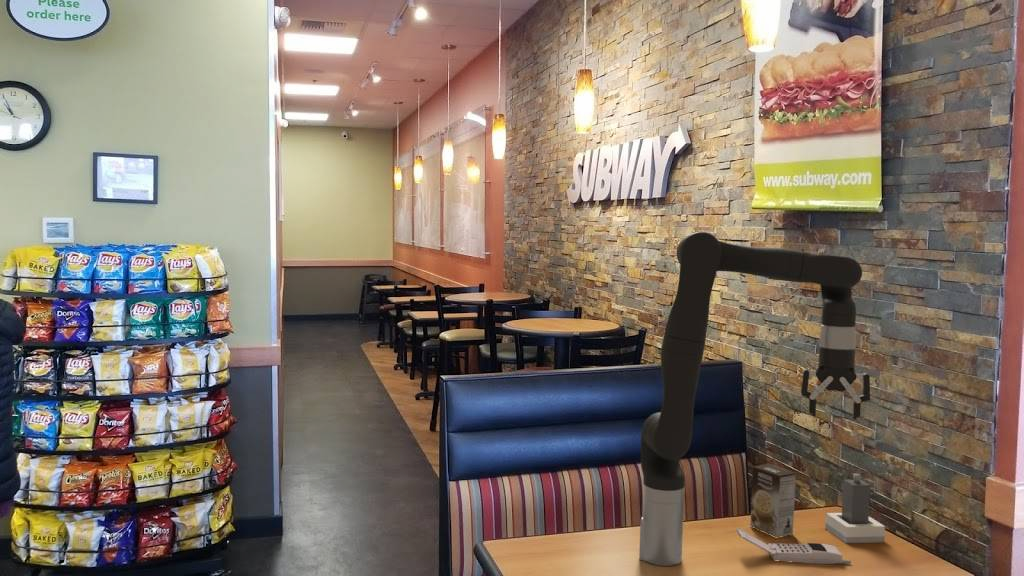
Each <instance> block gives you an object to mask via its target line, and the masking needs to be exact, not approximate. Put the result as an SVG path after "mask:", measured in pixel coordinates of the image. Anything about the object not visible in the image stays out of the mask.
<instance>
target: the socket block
mask: <svg viewBox="0 0 1024 576" xmlns="http://www.w3.org/2000/svg"><path fill="white" fill-rule="evenodd" d="M824 528H825V530H827V531H828V532H830V533H831V534H832V535H834V536H835V537H837V538H838V539H839V540H841V541H842V542H844V543H846V544H860V543H862V544H863V543H865V544H867V543H869V544H870V543H885V535H886V533H885V532H886V526H885V525H884V524H882V523H880V522H879V521H878V520H875V518H872V517H871V516H869V520H868V524H848V523H847V522H845V521H844V520H842V512H825V526H824Z"/></svg>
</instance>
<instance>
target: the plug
mask: <svg viewBox="0 0 1024 576" xmlns="http://www.w3.org/2000/svg"><path fill="white" fill-rule="evenodd" d="M870 494H871V485H870V484H869V483H867V482H865V481H864V480H862V478H861V474H860V473H853V479H843V486H842V501H841V502H842V504H841V505H842V508H841V513H842V520H844V521H845V522H847V523H848V524H868V520H869V517H870V498H871V497H870V496H871V495H870Z"/></svg>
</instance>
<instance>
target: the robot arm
mask: <svg viewBox="0 0 1024 576" xmlns="http://www.w3.org/2000/svg"><path fill="white" fill-rule="evenodd" d="M675 253H676V259H677V261H678V263H679V276H678V286H677V291H676V295H675V298H674V301H673V302H672V303H673V304H672V307H671V309H670V312H669V315H668V318H667V322H666V325H665V329H664V332H663V333H664V334H663V339H662V345H661V351H660V367H661V369H660V370H661V376H662V377H661V378H662V385H663V399H662V404H661V409H660V412H659V411H658V412H655V413H652V414H650V415H649V417H647V418H646V420H645V421H644V423H643V424H642V428H641V433H640V434H641V435H640V465H641V472H642V476H643V486H642V487H643V488H642V491H643V492H642V510H641V511H642V512H641V513H642V515H641V517H640V523H639V524H640V526H639V527H640V528H639V553H638V557H639V558H638V560H640V561H643V562H646V563H649V564H652V565H655V566H663V567H670V566H676V565H679V564H680V563H681V562H682V560H683V540H684V539H683V538H684V537H683V535H684V533H683V530H684V507H685V482H686V480H685V478H686V477H685V473H684V471H683V469H682V466H681V462H680V459H681V458H682V457H683V456H685V455H686V453H687V452H688V451H689V449H690V446H691V443H692V439H693V425H694V423H693V422H694V412H695V411H694V409H695V400H696V394H697V388H698V384H699V383H698V382H699V377H700V371H701V366H702V361H703V358H704V352H705V351H704V350H705V346H706V345H705V344H706V339H707V332H708V325H709V323H708V322H709V316H710V315H709V314H710V302H711V295H712V290H713V286H714V283H715V280H716V276H717V273H718V272H731V273H739V274H740V273H741V274H746V275H747V274H748V275H751V276H757V277H764V278H767V279H774V280H778V281H779V280H780V281H786V282H794V283H806V284H815V285H820V293H821V294H820V295H821V299H822V300H821V301H822V309H821V326H820V331H819V341H818V342H819V344H818V361H817V362H818V366H817V369H816V370H812V369H808V368H804V369H803V371H802V377H801V378H802V380H801V390H800V394H801V396H802V397H805V398H808V399H809V401H808V412H809V414H811V416H812V417H816V415H817V413H816V411H817V399H816V398H817V397H818V396H819V395H820V394H821V393H822V392H823V391H824V390H827V391H829V392H832V391H837V392H839V393H840V392H841V393H842V392H844V391H847V392H848V394H849V395H850V396H851V398H852V399H853V402H852V420H856V421H857V418H860V417H861V404H862V403H863V402H869V401H870V400H871V379H870V378H871V377H870V375H869V373H868V372H863V373H856V371H855V368H856V367H855V365H856V363H855V362H856V346H857V334H856V322H857V321H856V318H857V317H856V315H857V306H856V303H855V302H854V300H853V298H852V297H853V296H852V292H853V291H852V288H853V287H855V286H856V285H857V284H858V283H860V281H861V279H862V276H863V269H862V266H861V264H860V263H859V261H857V260H856V259H854V258H853V257H849V256H841V255H831V254H830V255H829V254H819V253H812V252H809V251H804V250H803V251H802V250H798V249H797V250H796V249H788V248H783V247H782V248H781V247H766V246H749V245H739V244H733V243H729V242H724V241H720V240H718V239H717V237H715V236H714V235H713V234H711V233H709V232H706V231H697V232H692V233H690V234H688V235H685V237H684V238H683V239H681V241H680V242H679V243H678V245H677V247H676V252H675ZM815 376H816V378H817V380H818V381H819V383H818V384H816V385H815V387H814V388H813V389H812V391H809V389H808V387H809V381H811V380H813V378H814V377H815ZM857 379H858V381H859V383H860V384H862V394H861V395H859V394H858V393H857V392H856V390H855V389H854V387H853V386H852V384H853V383H854V382H855V381H856V380H857Z"/></svg>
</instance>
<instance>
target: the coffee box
mask: <svg viewBox="0 0 1024 576" xmlns="http://www.w3.org/2000/svg"><path fill="white" fill-rule="evenodd" d="M796 481H797V472H794V471H791V470H789V469H786V468H783V467H781V466H778V465H775V464H773V463H766V464H758V465H755V466H752V485H751V486H752V487H751V504H750V521H749V522H750V523H749V524H750V525H749V526H752V527H755V528H757V529H759V530H761V531H764V532H766V533H768V534H771V535H773V536H775V537H780V536H786V537H788V536H787V535H790V536H793V535H794V534H793V533H794V521H795V520H794V519H795V504H796V502H795V500H796V499H795V498H796ZM752 527H751V528H752ZM792 534H793V535H792Z"/></svg>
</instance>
